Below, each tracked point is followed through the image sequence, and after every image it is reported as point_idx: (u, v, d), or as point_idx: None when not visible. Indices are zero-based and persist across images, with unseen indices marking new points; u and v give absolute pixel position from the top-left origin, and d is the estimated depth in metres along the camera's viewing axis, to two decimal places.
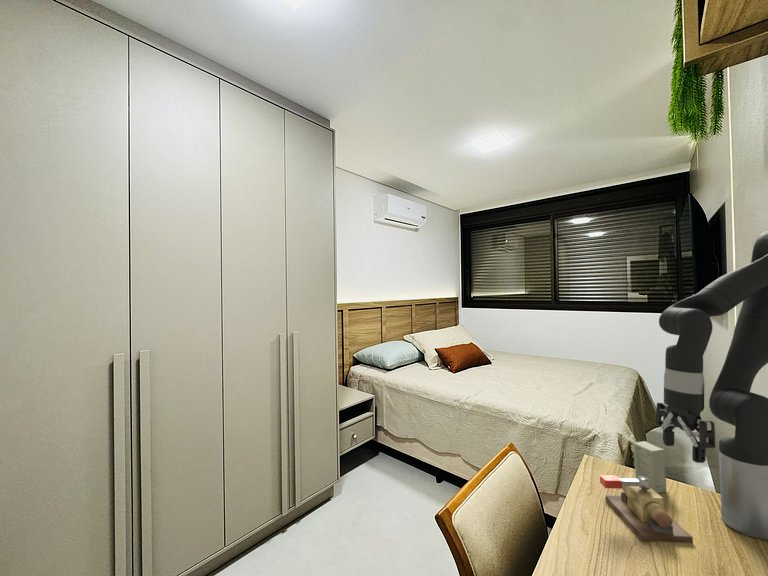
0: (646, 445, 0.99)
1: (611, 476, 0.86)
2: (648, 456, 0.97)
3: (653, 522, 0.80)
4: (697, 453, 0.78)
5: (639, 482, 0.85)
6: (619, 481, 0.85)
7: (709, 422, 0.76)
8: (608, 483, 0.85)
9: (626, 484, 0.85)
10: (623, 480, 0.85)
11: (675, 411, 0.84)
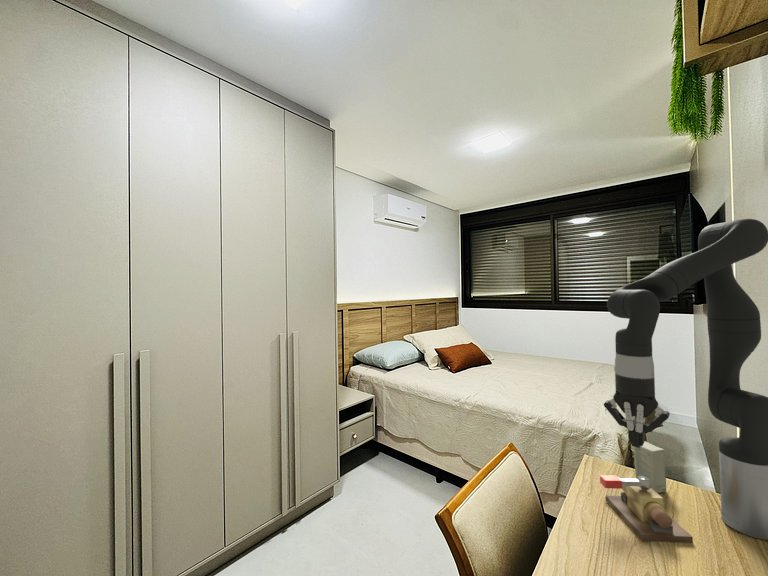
0: (646, 445, 0.99)
1: (611, 476, 0.86)
2: (648, 456, 0.97)
3: (653, 522, 0.80)
4: (640, 438, 0.78)
5: (639, 482, 0.85)
6: (619, 481, 0.85)
7: (669, 414, 0.75)
8: (608, 483, 0.85)
9: (626, 484, 0.85)
10: (623, 480, 0.85)
11: (629, 399, 0.79)
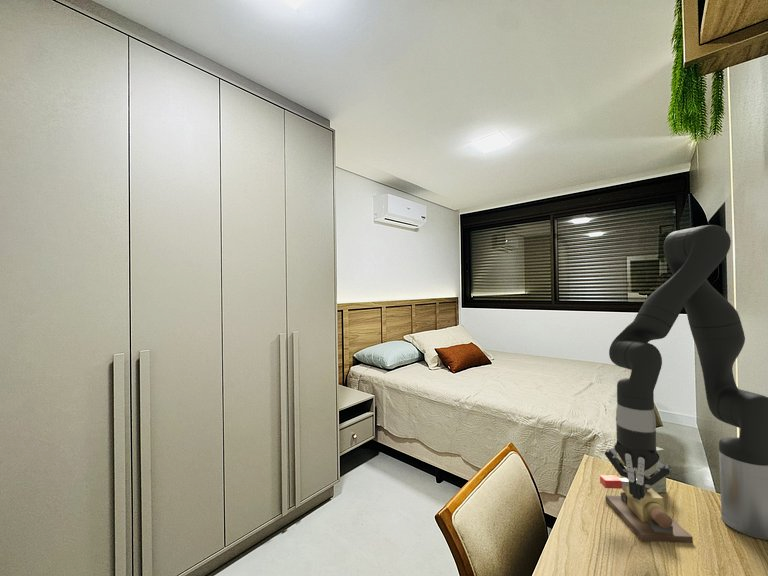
0: None
1: (611, 476, 0.86)
2: None
3: (653, 522, 0.80)
4: (641, 491, 0.78)
5: None
6: (619, 481, 0.85)
7: (670, 469, 0.75)
8: (608, 483, 0.85)
9: (626, 484, 0.85)
10: (623, 480, 0.85)
11: (630, 450, 0.79)
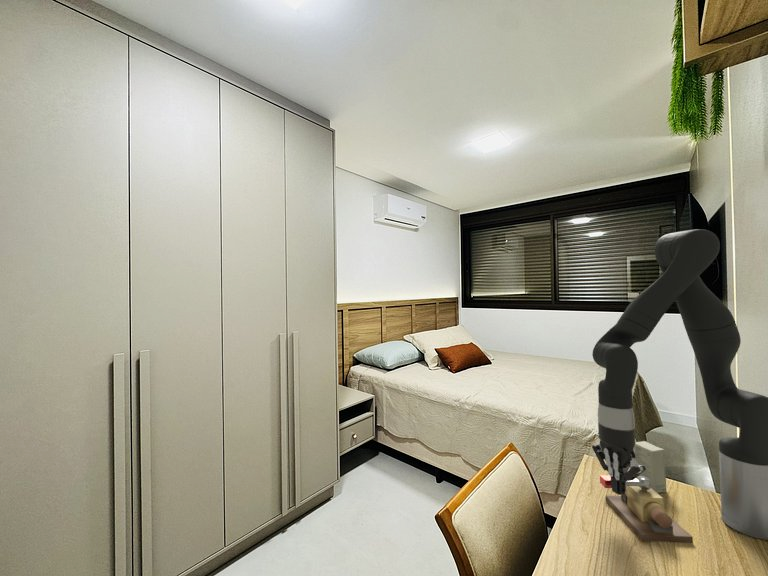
0: (646, 445, 0.99)
1: None
2: (648, 456, 0.97)
3: (653, 522, 0.80)
4: (619, 486, 0.82)
5: (639, 482, 0.85)
6: None
7: (642, 469, 0.77)
8: (608, 483, 0.85)
9: (626, 484, 0.85)
10: None
11: (609, 446, 0.84)
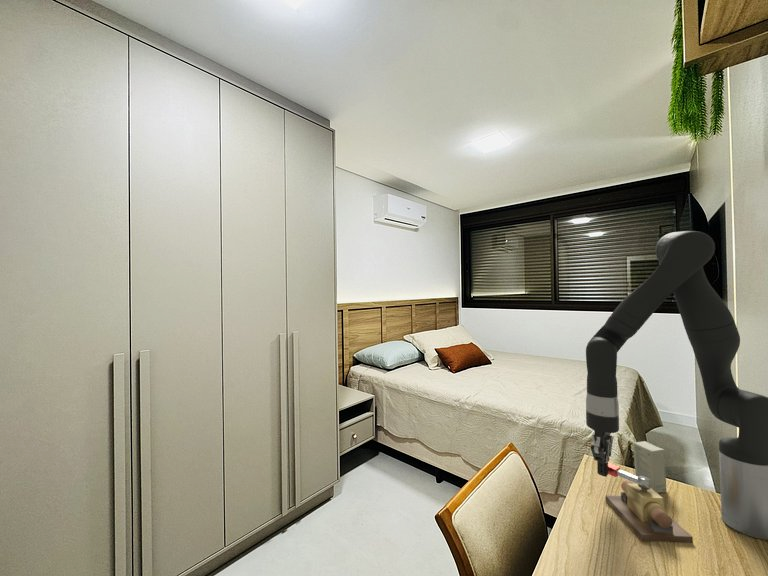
0: (646, 445, 0.99)
1: (612, 465, 0.92)
2: (648, 456, 0.97)
3: (653, 522, 0.80)
4: None
5: (635, 479, 0.86)
6: (613, 469, 0.90)
7: (597, 449, 0.86)
8: None
9: (622, 475, 0.89)
10: (620, 471, 0.89)
11: None
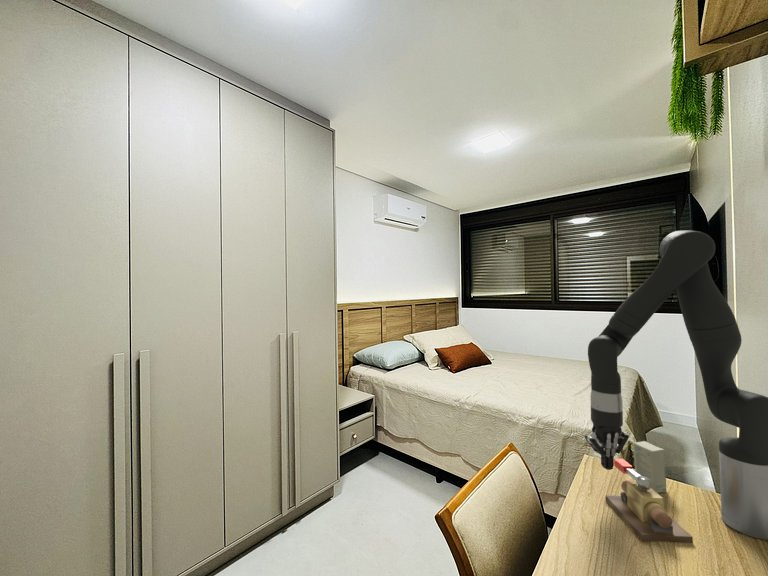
0: (646, 445, 0.99)
1: (627, 463, 0.92)
2: (648, 456, 0.97)
3: (653, 522, 0.80)
4: None
5: (637, 477, 0.87)
6: (622, 466, 0.92)
7: (589, 439, 0.92)
8: (615, 463, 0.94)
9: (628, 473, 0.90)
10: (629, 469, 0.90)
11: None
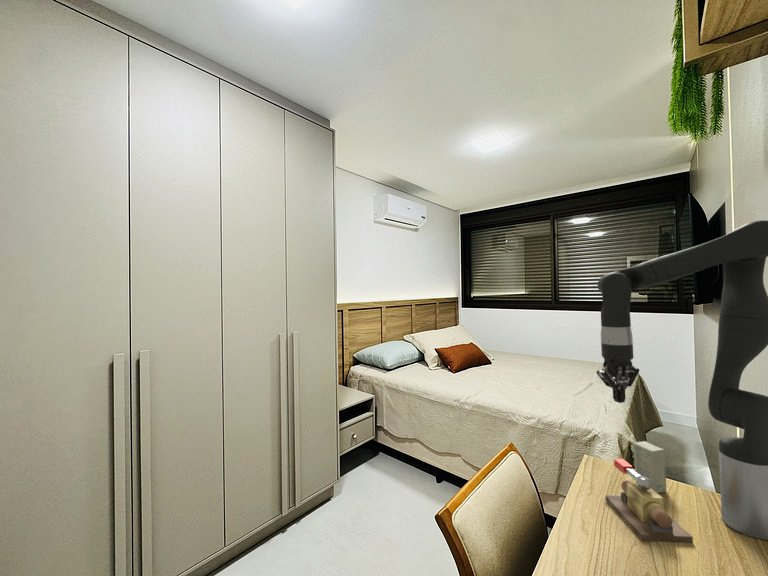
0: (646, 445, 0.99)
1: (627, 463, 0.92)
2: (648, 456, 0.97)
3: (653, 522, 0.80)
4: None
5: (637, 477, 0.87)
6: (622, 466, 0.92)
7: (600, 373, 0.94)
8: (616, 463, 0.94)
9: (628, 473, 0.90)
10: (629, 469, 0.90)
11: None
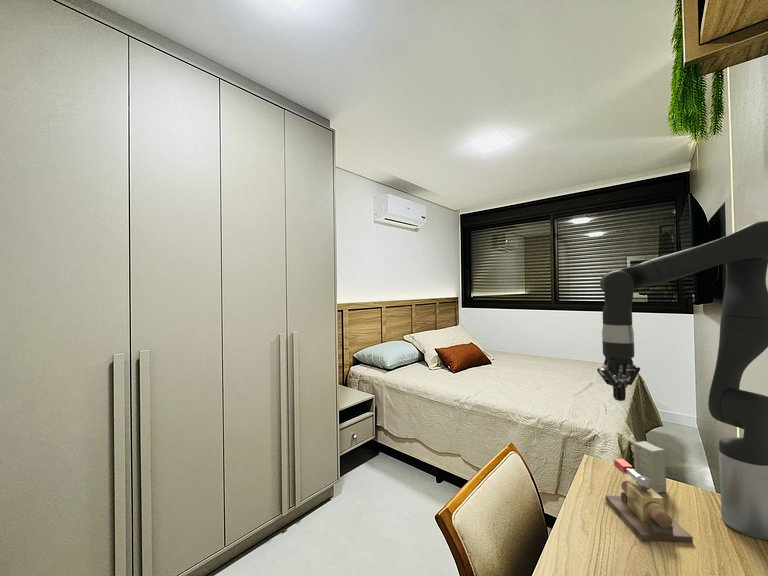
0: (646, 445, 0.99)
1: (627, 463, 0.92)
2: (648, 457, 0.97)
3: (653, 522, 0.80)
4: None
5: (637, 477, 0.87)
6: (622, 466, 0.92)
7: (601, 371, 0.95)
8: (616, 463, 0.94)
9: (628, 473, 0.90)
10: (629, 469, 0.90)
11: None
